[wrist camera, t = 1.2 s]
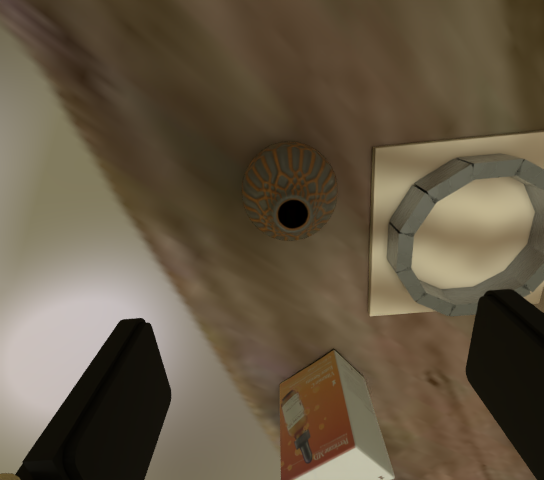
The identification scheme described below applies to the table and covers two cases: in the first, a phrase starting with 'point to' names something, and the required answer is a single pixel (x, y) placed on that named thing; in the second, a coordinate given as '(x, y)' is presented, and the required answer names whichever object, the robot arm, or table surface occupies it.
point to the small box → (330, 425)
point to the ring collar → (439, 184)
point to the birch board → (450, 218)
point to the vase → (289, 191)
